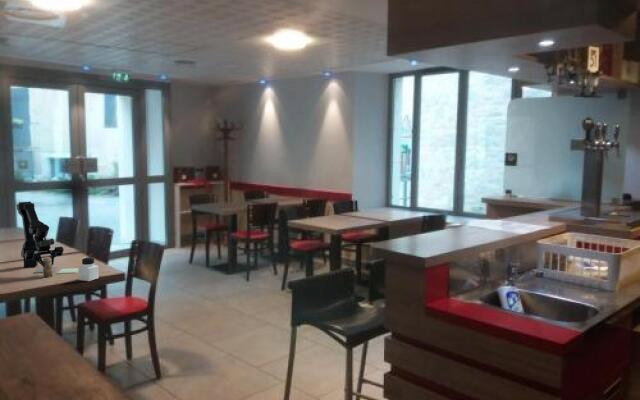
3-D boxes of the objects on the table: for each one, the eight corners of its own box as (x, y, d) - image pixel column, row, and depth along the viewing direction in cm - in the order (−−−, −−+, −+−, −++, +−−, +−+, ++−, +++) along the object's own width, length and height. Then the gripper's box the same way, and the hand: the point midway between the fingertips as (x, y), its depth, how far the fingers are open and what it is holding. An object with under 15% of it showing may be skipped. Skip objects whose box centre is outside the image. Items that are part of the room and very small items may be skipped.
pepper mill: (42, 277, 275) (41, 259, 274) (44, 275, 279) (43, 258, 278) (51, 277, 276) (50, 259, 275) (53, 275, 280) (52, 257, 279)
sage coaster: (57, 273, 283) (57, 272, 283) (62, 269, 293) (61, 268, 293) (76, 272, 286) (76, 271, 286) (80, 269, 296) (80, 268, 296)
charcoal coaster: (33, 273, 285) (33, 272, 284) (38, 269, 294) (38, 268, 294) (52, 272, 287) (52, 271, 287) (57, 268, 297) (57, 267, 297)
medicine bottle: (98, 278, 274) (98, 256, 273) (89, 281, 268) (88, 259, 267) (88, 277, 277) (87, 255, 276) (78, 280, 270) (77, 258, 269)
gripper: (25, 236, 271) (31, 259, 265) (62, 232, 284) (69, 254, 278) (21, 248, 278) (28, 271, 271) (58, 244, 291) (65, 265, 284)
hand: (48, 265), depth 276 cm, fingers closed on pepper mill, 4 cm apart
